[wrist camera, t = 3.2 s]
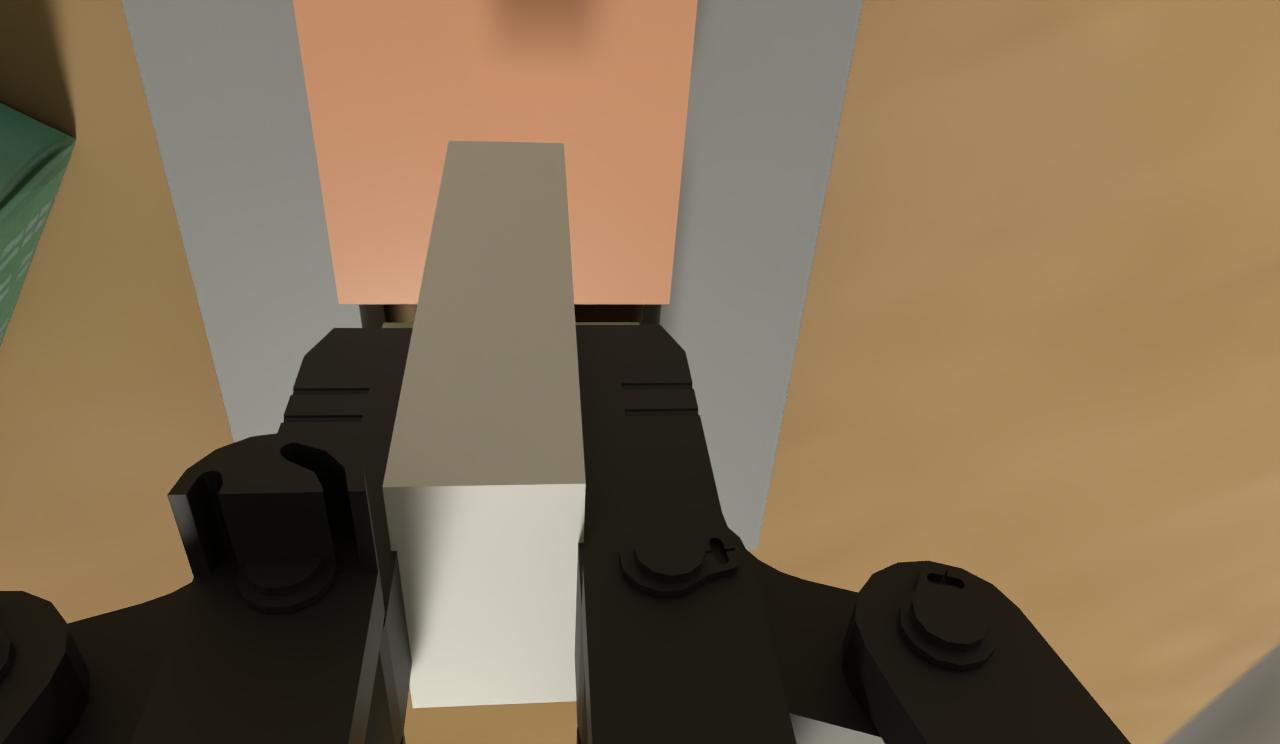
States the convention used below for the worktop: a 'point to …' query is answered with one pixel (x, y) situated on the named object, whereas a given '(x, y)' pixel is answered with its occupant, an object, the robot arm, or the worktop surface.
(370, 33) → the terracotta button
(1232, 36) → the worktop surface
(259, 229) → the button board
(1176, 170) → the worktop surface
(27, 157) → the box
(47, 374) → the worktop surface
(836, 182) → the worktop surface
